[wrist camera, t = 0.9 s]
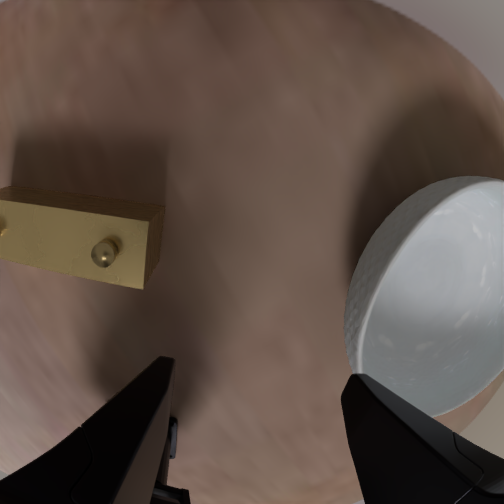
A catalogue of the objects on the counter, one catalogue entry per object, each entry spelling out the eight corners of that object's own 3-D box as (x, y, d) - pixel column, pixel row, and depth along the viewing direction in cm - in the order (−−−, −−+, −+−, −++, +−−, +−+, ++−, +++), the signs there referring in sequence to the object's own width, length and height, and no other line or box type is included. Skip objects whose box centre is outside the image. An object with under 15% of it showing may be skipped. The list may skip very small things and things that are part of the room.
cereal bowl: (511, 207, 20) (568, 227, 13) (445, 366, 25) (482, 410, 18) (362, 130, 17) (428, 125, 11) (290, 357, 22) (311, 427, 16)
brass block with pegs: (159, 259, 19) (139, 296, 14) (11, 232, 18) (-33, 255, 12) (166, 205, 18) (144, 225, 13) (12, 185, 17) (-36, 198, 11)
